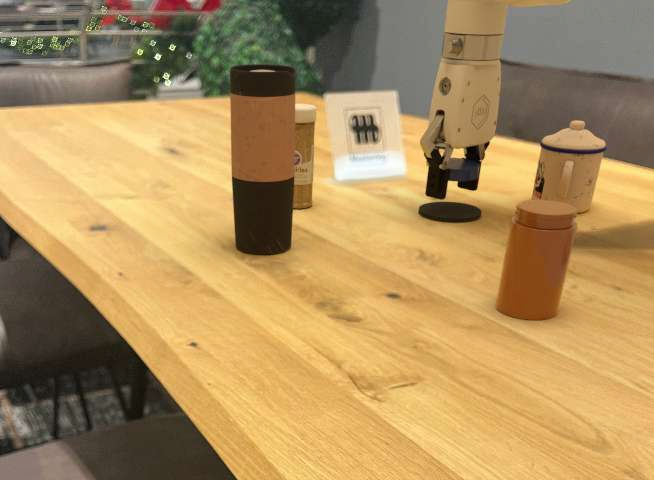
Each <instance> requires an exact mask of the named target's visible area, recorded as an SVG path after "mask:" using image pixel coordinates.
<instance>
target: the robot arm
mask: <svg viewBox="0 0 654 480" xmlns="http://www.w3.org/2000/svg"><path fill="white" fill-rule="evenodd" d="M571 1H573V0H447V4H446V5H447V6H446V13H445V22H444V31H443V32H444V33H443V39H442V48H441V55H440V57H441V58H440V63H439V66H438V69H437V74H436V79H435V83H434V87H433V92H432V98H431V102H430V109H429V116H428V124H427V128H426V130H425V131H424V133H423V135H422V136H421V137H420V140H419V145H420V147H421V149H422V152H423V156H424V158H425V160H426V161H425V165H426V167H428V168H427V177H426V185H425V193H424V194H425V196H426V197H429V198H432V199H435V200H436V199H437V200H441V201H442V200H445V199H446V198H447V192H448V186H449V185H448V184H449V181H448V178H449V170H450V169H446V167H447V165H448V162H449V160H450V158H452V155H453V152H454V149H456V150H460V149H463V155H464V157H461V158H462V159H468V160H472V161H475V162H477V163H479V165H480V166H479V167H480V168H479V174H478V178H477V179H475V180H471V181H461V182H458V181H457V183H456V184H457V187H458V188H460V189H463V190H467V191H472V192H475V191H477V190H478V188H479V181H480V176H481V168H482V163H483V162H482V161H484V159H485V158H486V150H487V149H488V148H489V146H490V143H491V141H492V140H493V138H494V137H495V134H496V131H497V122H498V115H499V108H500V107H499V106H500V98H501V97H500V96H501V86H502V85H501V84H502V83H501V82H502V65H501V63H502V62H501V61H500V59H501V52H502V48H503V47H502V46H503V41H504V34H505V28H506V22H507V14H508V9H509V6H510V7H517V8H528V7H530V8H533V7H541V6H559V5H564V4H568V3H569V2H571ZM440 150H443V153H442V154H441V152H440Z"/></svg>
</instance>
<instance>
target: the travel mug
mask: <svg viewBox="0 0 654 480" xmlns="http://www.w3.org/2000/svg"><path fill="white" fill-rule="evenodd" d="M296 75H297V69H296V68H295V67H293V66H290V65H284V64H268V63H267V64H265V63H263V64H260V63H259V64H258V63H257V64H255V63H254V64H238V65H233V66H230V69H229V92H230V93H229V95H230V96H229V100H230V105H229V106H230V149H231V150H230V152H231V153H230V155H231V156H230V157H231V158H230V160H231V163H230V165H231V188H232V207H233V222H234V223H233V225H234V240H235V241H234V242H235V247H236V249H237V251H240V252H243V253H246V254H249V255H257V256H266V255H268V254H270V255H277V253H278V254H282V253H285V252H287V251H289V250H290V249H291V247H292V237H293V236H292V234H293V219H294V217H293V216H294V208H293V198H294V175H295V104H296V82H297V81H296V77H297V76H296ZM281 252H282V253H281ZM268 256H269V255H268Z"/></svg>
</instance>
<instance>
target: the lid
mask: <svg viewBox="0 0 654 480" xmlns="http://www.w3.org/2000/svg"><path fill="white" fill-rule="evenodd" d="M462 158H463V157H450V160H449V162H448V165H447V167H446V169H450V170H449V178H448V182H457V183H458V182H461V181H471V180H475V179H477V178H478V174H479V168H480V167H479V166H480V165H479V163H477V162H475V161H472V160H468V159H462Z"/></svg>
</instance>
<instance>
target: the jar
mask: <svg viewBox="0 0 654 480" xmlns="http://www.w3.org/2000/svg"><path fill="white" fill-rule="evenodd" d="M515 208H516V210H515V211H514V214H515V215H514V216H511V219H510V224H509V229H508V234H507V239H506V245H505V251H504V256H503V261H502V267H501V272H500V277H499V278H500V279H499V284H498V289H497V296H496V300H495V308H496V310H498V312H500V313H502V314H503V315H505V316H508V317H512V318H515V319H520V320H526V321H527V320H528V321H541V320H549V319H551V318H554V317H556V316H557V315H558V312H559V308H560V304H561V299H562V295H563V291H564V287H565V282H566V278H567V275H568V269H569V265H570V260H571V256H572V253H573V252H572V250H573V247H574V243H575V239H576V234H577V231H578V226H579V225H578V223H577V221H575V220H576V218H577V216H578V213H577V209H576V208H575V207H574V206H572V205H569V204H566V203H562V202H557V201H550V200H531V199H530V200H524V201H521V202H519V203H518V204H517V205H516V207H515Z"/></svg>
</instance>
